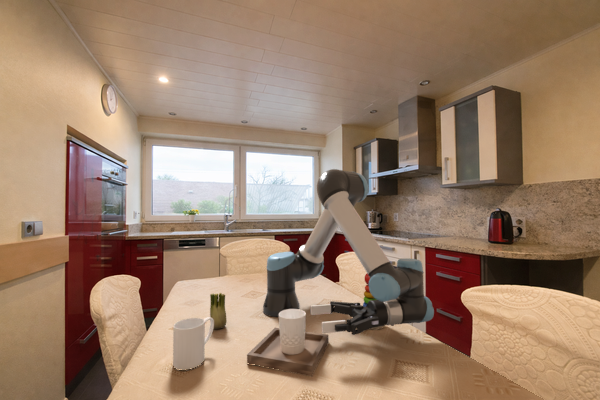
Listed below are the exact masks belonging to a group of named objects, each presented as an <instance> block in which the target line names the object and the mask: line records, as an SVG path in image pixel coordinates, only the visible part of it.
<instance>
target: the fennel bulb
mask: <svg viewBox="0 0 600 400" xmlns="http://www.w3.org/2000/svg"><path fill="white" fill-rule="evenodd" d="M209 296H210V308H209V315H210V316H209V317H211V318H213V320H214V329H213V330H221V329H223V328H225V326H226V325H227V323H228V322H227V312H226V311H227V310H226V294H225V293H222V292H219V293H210V295H209Z"/></svg>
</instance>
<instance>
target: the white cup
mask: <svg viewBox="0 0 600 400" xmlns="http://www.w3.org/2000/svg"><path fill="white" fill-rule="evenodd" d="M306 317H307V313H306V311H305V310H302V309H287V310H283V311H281V312H280V313H279V317H278V324H279V325H278V326H279V327H278V328H279V331H280V341H281V351H282V352H283V353H285V354H289V355H295V354H299V353H301V352H303V350H304V345H305V332H306V325H307V324H306V320H307V319H306Z"/></svg>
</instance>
